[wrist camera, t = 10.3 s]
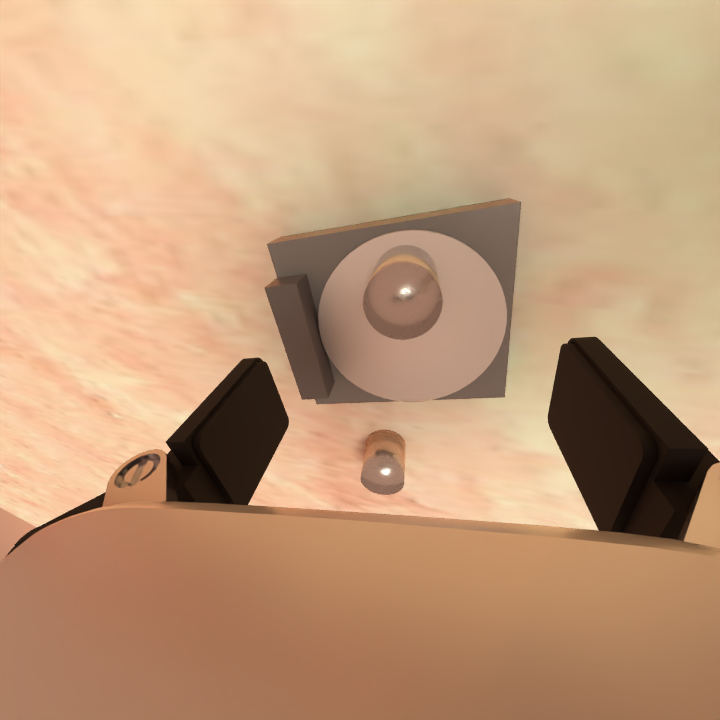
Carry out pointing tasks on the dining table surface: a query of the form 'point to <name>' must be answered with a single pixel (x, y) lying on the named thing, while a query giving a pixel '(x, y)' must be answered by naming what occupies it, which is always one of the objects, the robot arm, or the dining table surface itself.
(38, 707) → the robot arm
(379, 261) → the cylinder
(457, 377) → the scale
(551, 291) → the dining table surface
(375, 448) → the cylinder
